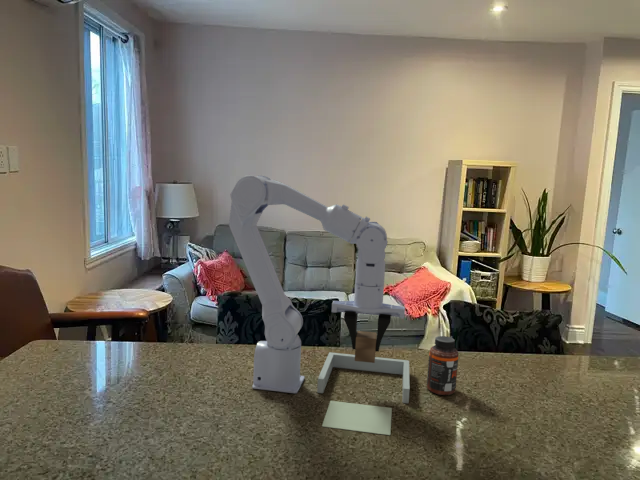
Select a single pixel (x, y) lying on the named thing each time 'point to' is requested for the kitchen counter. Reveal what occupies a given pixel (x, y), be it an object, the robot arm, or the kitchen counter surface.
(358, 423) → the mat
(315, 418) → the kitchen counter surface
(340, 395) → the kitchen counter surface
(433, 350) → the supplement bottle
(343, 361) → the u-shaped barrier
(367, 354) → the block
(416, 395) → the kitchen counter surface
